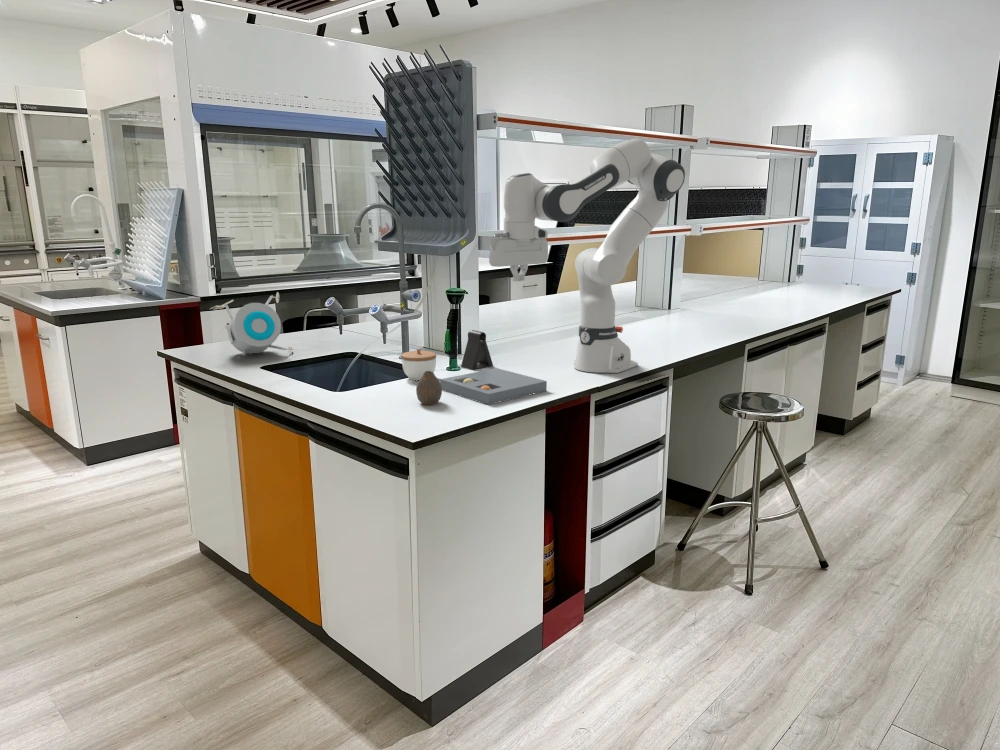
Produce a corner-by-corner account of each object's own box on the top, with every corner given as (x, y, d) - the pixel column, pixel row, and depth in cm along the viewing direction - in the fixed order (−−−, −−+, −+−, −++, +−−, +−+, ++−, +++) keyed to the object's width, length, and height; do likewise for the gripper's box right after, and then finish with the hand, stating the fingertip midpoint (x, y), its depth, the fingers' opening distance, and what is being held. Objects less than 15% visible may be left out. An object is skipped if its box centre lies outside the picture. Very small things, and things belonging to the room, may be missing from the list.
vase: (443, 399, 192) (443, 369, 190) (440, 406, 186) (439, 375, 183) (419, 399, 193) (418, 368, 191) (414, 406, 186) (413, 374, 184)
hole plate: (497, 377, 217) (496, 368, 217) (546, 391, 201) (546, 381, 201) (440, 389, 203) (440, 379, 203) (488, 404, 187) (488, 394, 187)
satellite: (271, 301, 264) (202, 312, 251) (284, 285, 248) (211, 296, 234) (287, 358, 263) (219, 372, 250) (301, 346, 247) (229, 360, 233)
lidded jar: (431, 373, 223) (430, 344, 221) (441, 380, 213) (440, 350, 211) (398, 376, 219) (397, 347, 217) (407, 384, 210) (406, 353, 207)
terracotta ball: (487, 386, 196) (479, 383, 194) (495, 388, 194) (487, 385, 192) (483, 397, 196) (475, 394, 194) (492, 400, 194) (483, 397, 191)
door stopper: (481, 363, 237) (481, 328, 235) (493, 366, 233) (493, 331, 230) (461, 367, 232) (460, 331, 229) (472, 370, 227) (471, 334, 224)
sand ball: (469, 388, 205) (469, 376, 205) (476, 390, 203) (477, 378, 202) (459, 389, 203) (460, 377, 202) (467, 391, 200) (468, 379, 200)
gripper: (499, 233, 189) (499, 284, 192) (551, 231, 202) (551, 279, 206) (484, 232, 194) (484, 282, 197) (536, 231, 207) (536, 277, 210)
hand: (518, 280), depth 201 cm, fingers closed
